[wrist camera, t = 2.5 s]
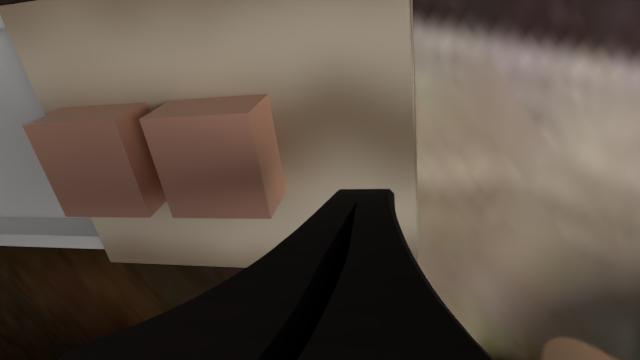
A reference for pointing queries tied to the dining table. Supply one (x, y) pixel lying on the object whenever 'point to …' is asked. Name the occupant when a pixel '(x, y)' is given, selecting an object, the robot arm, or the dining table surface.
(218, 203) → the tile
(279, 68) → the low rectangular platform
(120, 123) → the tile
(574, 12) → the dining table surface
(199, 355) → the robot arm
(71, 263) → the dining table surface
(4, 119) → the box
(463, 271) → the dining table surface
